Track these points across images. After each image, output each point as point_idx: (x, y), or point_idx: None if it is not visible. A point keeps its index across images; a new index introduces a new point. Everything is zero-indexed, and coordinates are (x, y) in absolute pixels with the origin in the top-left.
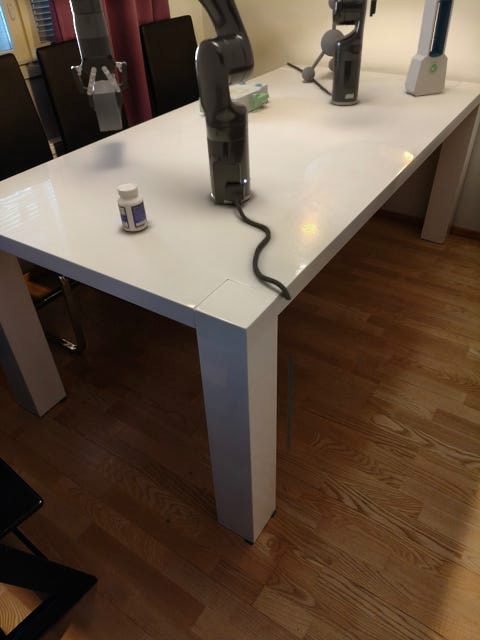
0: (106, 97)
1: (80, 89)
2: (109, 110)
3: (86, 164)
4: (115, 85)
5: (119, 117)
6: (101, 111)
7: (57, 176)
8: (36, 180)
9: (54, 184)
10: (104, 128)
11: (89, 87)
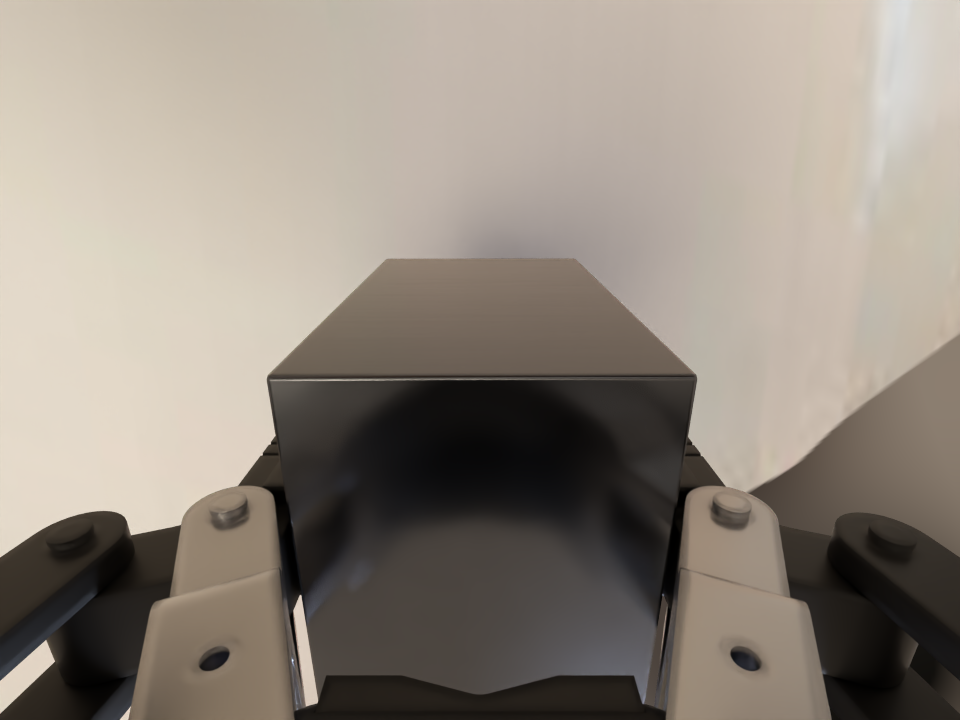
0: (449, 350)
1: (925, 559)
2: (453, 297)
3: None
4: (224, 563)
5: (368, 279)
6: (552, 299)
7: (825, 210)
8: (945, 185)
9: (862, 76)
10: (538, 264)
11: (754, 572)
